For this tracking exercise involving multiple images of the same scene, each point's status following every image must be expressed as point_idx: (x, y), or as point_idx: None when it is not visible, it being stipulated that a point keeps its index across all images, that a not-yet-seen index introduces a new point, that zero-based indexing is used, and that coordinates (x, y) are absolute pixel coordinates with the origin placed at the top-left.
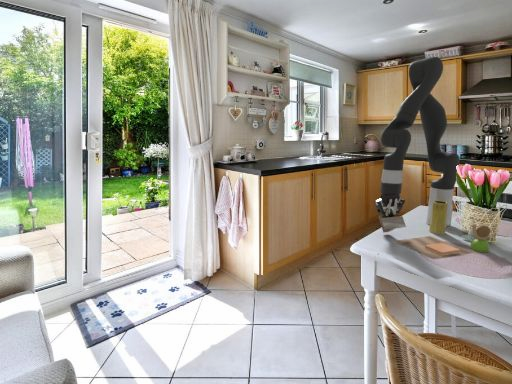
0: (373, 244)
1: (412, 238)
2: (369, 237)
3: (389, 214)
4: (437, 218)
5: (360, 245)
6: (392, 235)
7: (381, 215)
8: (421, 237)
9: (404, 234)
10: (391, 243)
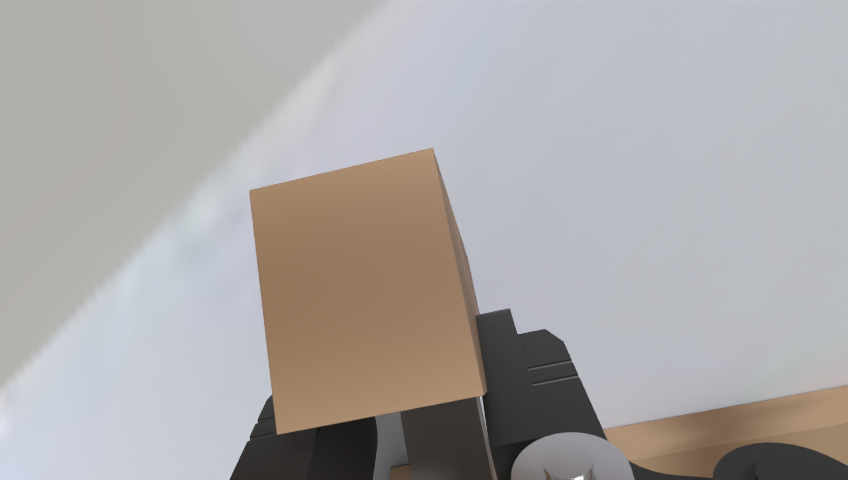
0: (166, 443)
1: (686, 453)
2: (195, 217)
3: (495, 467)
4: None
5: (9, 456)
6: (579, 161)
7: (280, 343)
8: (840, 432)
9: (799, 131)
10: (391, 433)
